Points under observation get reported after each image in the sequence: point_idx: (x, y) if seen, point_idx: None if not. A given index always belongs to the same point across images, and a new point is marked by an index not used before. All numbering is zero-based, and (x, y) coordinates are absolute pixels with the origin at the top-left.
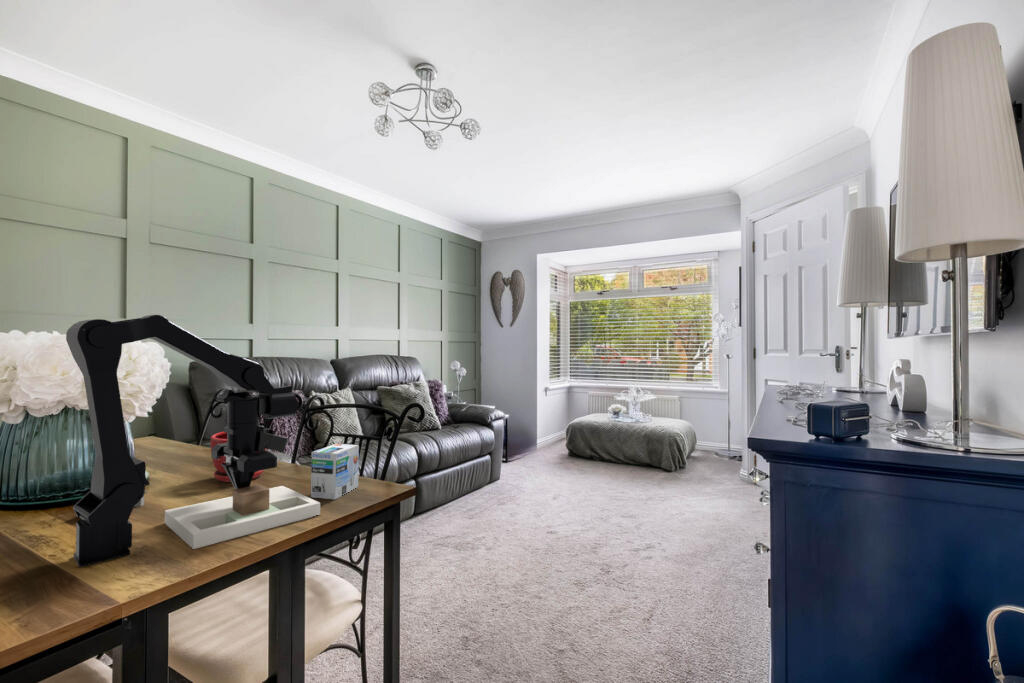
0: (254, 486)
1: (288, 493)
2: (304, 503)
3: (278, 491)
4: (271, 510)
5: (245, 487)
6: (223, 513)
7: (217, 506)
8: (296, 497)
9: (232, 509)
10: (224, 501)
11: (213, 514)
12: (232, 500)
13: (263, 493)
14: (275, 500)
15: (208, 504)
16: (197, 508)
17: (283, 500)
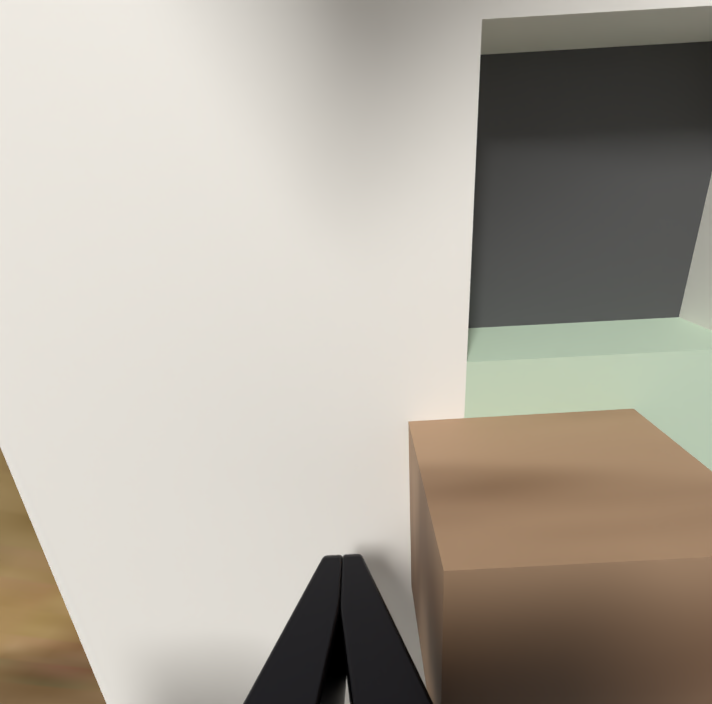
0: (498, 630)
1: (259, 47)
2: (677, 21)
3: (85, 117)
4: (681, 405)
5: (451, 696)
6: None
7: (254, 628)
8: (480, 28)
9: (404, 584)
10: (153, 577)
11: (418, 671)
12: (161, 535)
13: None
14: (426, 278)
15: (166, 653)
16: (216, 701)
17: (472, 206)
